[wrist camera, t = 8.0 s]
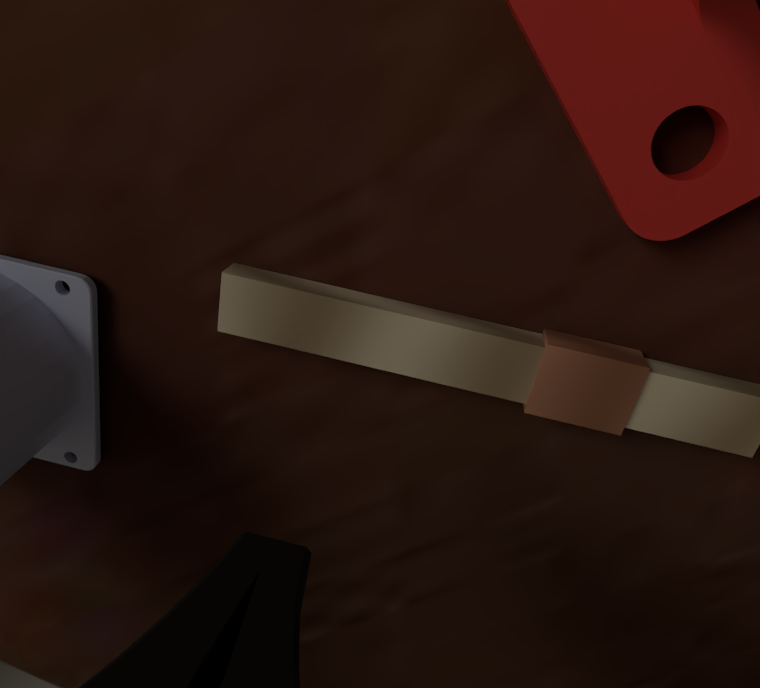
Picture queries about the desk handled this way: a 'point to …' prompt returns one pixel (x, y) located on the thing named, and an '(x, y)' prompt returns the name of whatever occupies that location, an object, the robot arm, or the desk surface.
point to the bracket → (655, 98)
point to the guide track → (495, 360)
